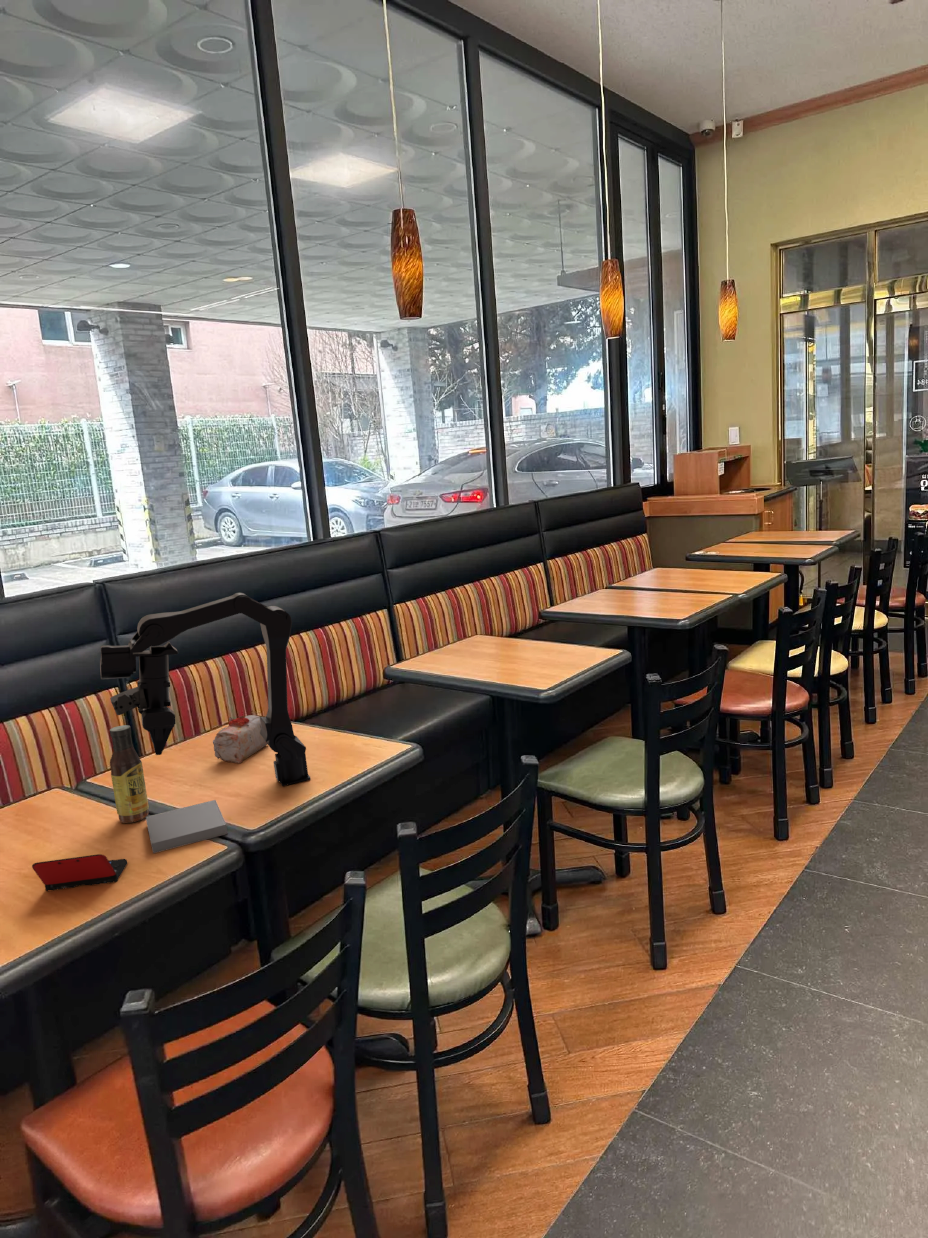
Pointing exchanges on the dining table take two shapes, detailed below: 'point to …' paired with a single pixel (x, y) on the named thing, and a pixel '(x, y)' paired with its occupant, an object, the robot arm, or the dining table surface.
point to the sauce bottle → (127, 777)
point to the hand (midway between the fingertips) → (156, 748)
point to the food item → (239, 739)
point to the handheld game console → (79, 871)
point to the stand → (185, 826)
